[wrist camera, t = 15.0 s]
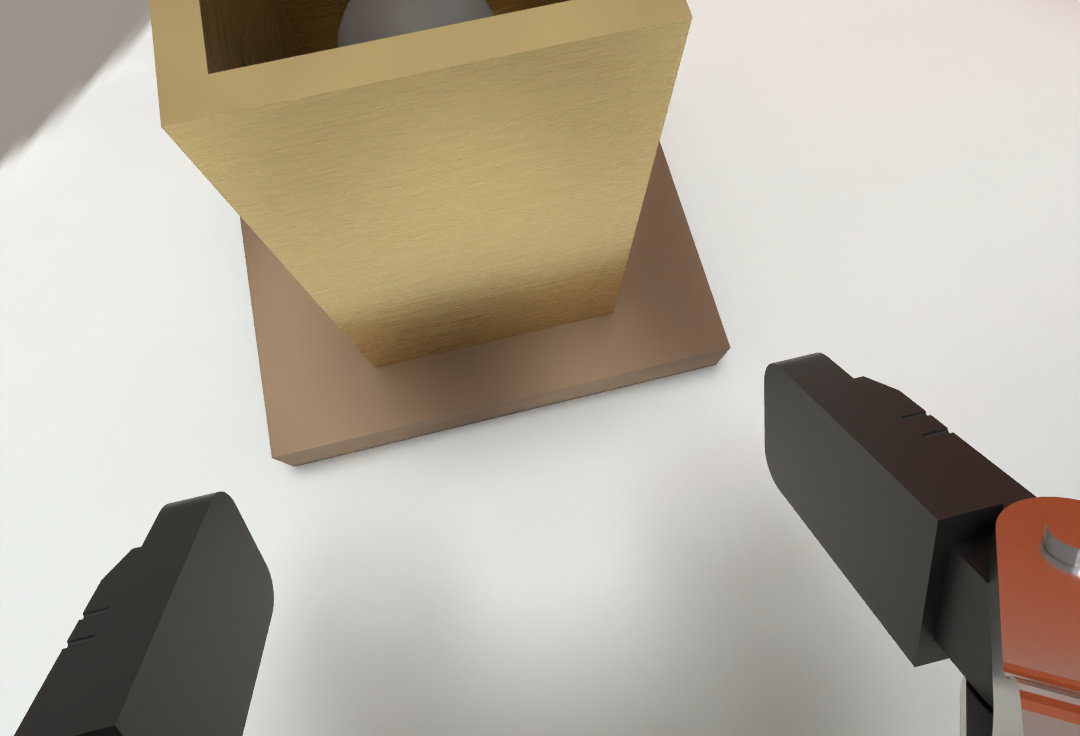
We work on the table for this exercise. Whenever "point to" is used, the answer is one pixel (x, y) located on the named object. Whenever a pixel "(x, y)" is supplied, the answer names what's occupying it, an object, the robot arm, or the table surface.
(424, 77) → the sleeve
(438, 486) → the table surface
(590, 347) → the post base
